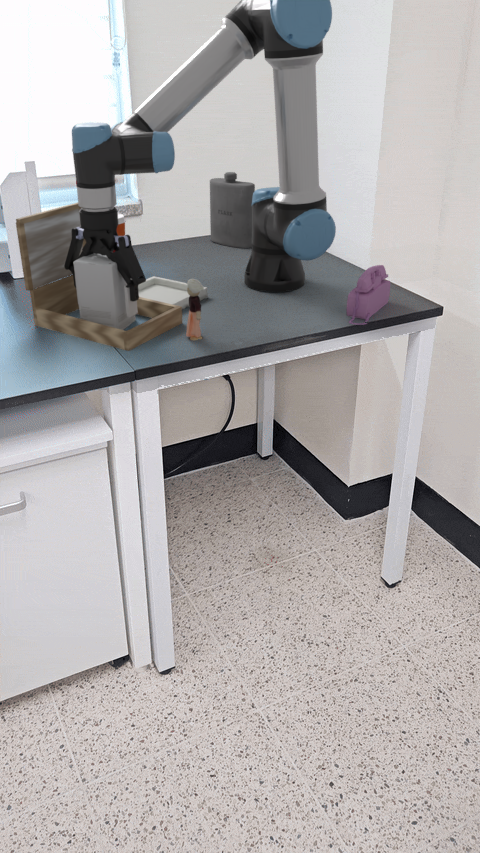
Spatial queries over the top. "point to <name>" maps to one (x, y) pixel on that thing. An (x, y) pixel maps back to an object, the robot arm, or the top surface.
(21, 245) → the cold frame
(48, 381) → the top surface
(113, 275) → the supplement box
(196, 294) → the grandmother figurine
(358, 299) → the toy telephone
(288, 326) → the top surface
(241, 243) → the flask
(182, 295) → the tray
